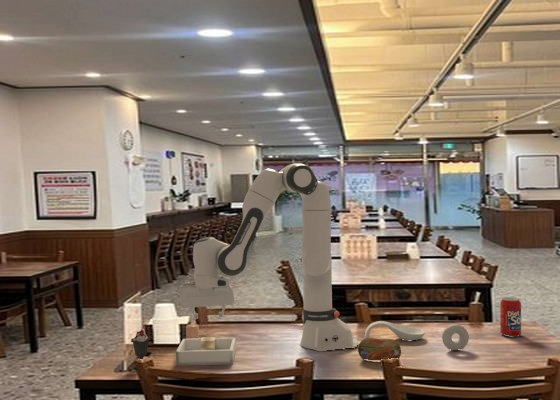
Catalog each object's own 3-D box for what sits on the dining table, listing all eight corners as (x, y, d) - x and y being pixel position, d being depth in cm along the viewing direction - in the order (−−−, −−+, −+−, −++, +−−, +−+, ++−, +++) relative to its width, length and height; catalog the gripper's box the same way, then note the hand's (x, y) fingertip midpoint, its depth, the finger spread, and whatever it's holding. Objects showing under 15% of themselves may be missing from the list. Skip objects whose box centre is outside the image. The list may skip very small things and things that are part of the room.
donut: (466, 348, 215) (466, 322, 215) (470, 351, 212) (470, 324, 211) (440, 350, 214) (440, 323, 214) (444, 352, 211) (443, 326, 210)
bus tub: (235, 350, 219) (235, 337, 219) (232, 364, 203) (232, 350, 203) (183, 351, 219) (183, 338, 219) (176, 365, 203) (175, 351, 203)
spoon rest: (422, 335, 235) (422, 318, 234) (427, 344, 223) (427, 325, 223) (363, 335, 236) (363, 318, 236) (366, 344, 225) (365, 326, 224)
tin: (357, 361, 204) (357, 337, 204) (360, 358, 207) (359, 335, 207) (400, 365, 199) (400, 341, 198) (402, 362, 201) (401, 338, 201)
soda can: (503, 331, 237) (503, 295, 236) (523, 334, 232) (523, 297, 231) (498, 336, 230) (497, 299, 230) (518, 339, 226) (518, 301, 225)
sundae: (146, 371, 198) (145, 328, 198) (128, 370, 200) (127, 327, 199) (154, 364, 205) (153, 323, 204) (137, 364, 206) (135, 322, 205)
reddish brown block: (199, 341, 233) (199, 324, 232) (198, 344, 228) (197, 327, 227) (187, 341, 233) (187, 324, 232) (185, 345, 228) (185, 327, 227)
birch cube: (215, 349, 217) (215, 336, 217) (214, 354, 212) (214, 340, 212) (202, 350, 217) (202, 337, 217) (200, 354, 212) (200, 341, 212)
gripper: (177, 284, 210) (179, 321, 211) (233, 281, 210) (235, 318, 211) (180, 281, 217) (182, 317, 217) (234, 278, 217) (236, 314, 217)
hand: (208, 317), depth 214 cm, fingers open, 8 cm apart
